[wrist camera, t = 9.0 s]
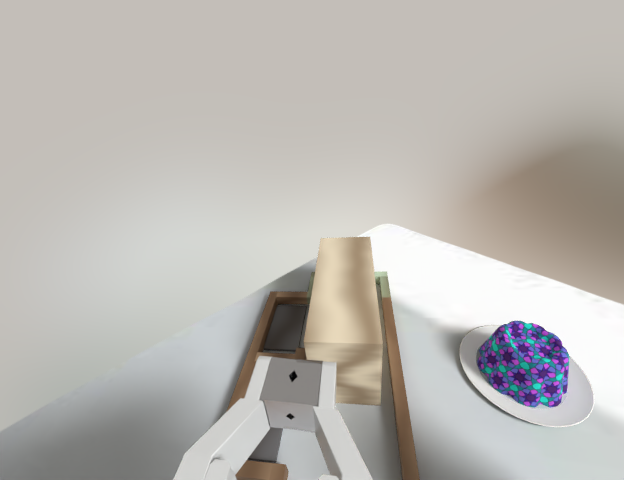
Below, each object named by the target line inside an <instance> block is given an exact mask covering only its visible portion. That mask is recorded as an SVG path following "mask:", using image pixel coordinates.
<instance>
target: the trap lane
mask: <svg viewBox="0 0 624 480" xmlns="http://www.w3.org/2000/svg"><path fill="white" fill-rule="evenodd" d="M374 274H375V283H376V284H380V292H381V300H382V309H383V317H384V326H385V334H386V343H387V351H388V360H389V369H390V377H391V386H392V394H393V403H394V411H395V420H396V429H397V437H398V446H399V454H400V463H401V471H402V480H420V479H419V473H418V466H417V460H416V454H415V447H414V441H413V435H412V428H411V422H410V416H409V409H408V403H407V397H406V390H405V384H404V378H403V371H402V365H401V359H400V352H399V346H398V340H397V334H396V327H395V321H394V315H393V308H392V302H391V296H390V289H389V283H388V277H387V272H374ZM314 277H315V272H312V273H311V278H310V283H309V288H308V292H270V295H269V297H268V300H267V303H266V305H265V308H264V311H263V314H262V316H261V319H260V322H259V324H258V327H257V330H256V333H255V335H254V338H253V341H252V343H251V346H250V349H249V352H248V354H247V357H246V360H245V362H244V365H243V368H242V370H241V373H240V376H239V379H238V381H237V384H236V387H235V389H234V392H233V395H232V398H231V400H230V403H229V406H228V408H227V411H228V410H229V409H230V408H231V407H232V406H233V405H234V404H235V403H236V402H237V401H238V400H239V399H240V398H244V397H245V394H246V391H247V388H248V385H249V382H250V379H251V376H252V373H253V370H254V367H255V364H256V361H257V359H258V357H259V356H269V357H277V358H288V359H303V360H307V357H306V352H305V348H299V343H300V338H301V333H302V328H303V323H304V318H305V313H306V308H307V307H306V306H285V305H278V304H310V301H311V295H312V289H313V283H314ZM263 349H264V350H281V351H295V354H285V353H262V352H263ZM227 411H226V412H227ZM282 430H283V428H274V427H270V430H269V431H268V432H267V434H266V435H265V436H264V438H263V439H262V440H261V442H260V443H259V444H258V446H257V447H256V448H255V450H254V451H253V452H252V454H251V455H250V456H249V458H248V459H251V460H260V461H269V462H276V460H277V455H278V450H279V445H280V440H281V435H282ZM235 476H236V478H237V480H287V477H288V469H287V467H286V465H285V464H276V463H267V462H258V461H249V460H246V462H245V463H244V464H243V466H242V467H241V468H240V470H239V471H238V472H237V474H236V475H235Z"/></svg>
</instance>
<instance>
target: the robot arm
mask: <svg viewBox="0 0 624 480" xmlns="http://www.w3.org/2000/svg"><path fill="white" fill-rule="evenodd" d="M336 365H337V364H336V362H327V361H318V360H303V359H288V358H277V357H269V356H259V357H258V359H257V361H256V364H255V367H254V370H253V373H252V376H251V379H250V382H249V385H248V388H247V391H246V394H245V397H244V398H240V399H239V400H238V401H237V402H236V403H235V404H234V405H233V406H232V407H231V408H230V409H229V410H228V411H227V412H226V413H225V414H224V415H223V416H222V417H221V418H220V419H219V420H218V421H217V422H216V423H215V424H214V425H213V426H212V427H211V428H210V429H209V430H208V431H207V432H206V433H205V434H204V435H203V436H202V437H201V438H200V439H199V440H198V441H197V442H196V443H195V444H194V445H193V446H192V447H191V448H190V449H189V450H188V451H187V452H186V453H185V454H184V456H183V459H182V461H181V463H180V465H179V468H178V470H177V472H176V475H175V477H174V479H173V480H237V478H236V476H235V475H236V474H237V472H238V471H239V470H240V468H241V467H242V466H243V464H244V463H245V462H246V460H247V459H248V458H249V456H250V455H251V454H252V452H253V451H254V450H255V448H256V447H257V446H258V444H259V443H260V442H261V440H262V439H263V438H264V436H265V435H266V434H267V432H268V431H269V430H270V427H274V428H285V429H295V430H301V431H308V432H315V434H316V437H317V440H318V442H319V445H320V448H321V451H322V453H323V456H324V459H325V461H326V464H327V467H328V470H329V472H330V475H325V474H322V475H321V476H320V478H319V479H318V480H373V479H372V477H371V475H370V473H369V471H368V469H367V467H366V465H365V463H364V461H363V459H362V457H361V455H360V453H359V451H358V449H357V447H356V445H355V443H354V441H353V439H352V437H351V434H350V432H349V430H348V428H347V426H346V424H345V422H344V420H343V418H342V416H341V414H340V412H339V410H338V409H336V408H335V406H336Z"/></svg>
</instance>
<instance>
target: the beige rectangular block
mask: <svg viewBox="0 0 624 480" xmlns="http://www.w3.org/2000/svg"><path fill="white" fill-rule="evenodd" d="M304 347H305V352H306V357H307V360H318V361H327V362H336V364H337V365H336V403H346V404H363V405H381V379H382V354H383V341H382V332H381V324H380V316H379V308H378V299H377V291H376V283H375V274H374V266H373V258H372V249H371V241H370V237H348V238H321V241H320V247H319V253H318V258H317V264H316V270H315V277H314V283H313V289H312V295H311V301H310V307H309V313H308V319H307V325H306V331H305V337H304Z"/></svg>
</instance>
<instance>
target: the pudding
mask: <svg viewBox="0 0 624 480" xmlns="http://www.w3.org/2000/svg"><path fill="white" fill-rule="evenodd" d="M482 344H483V345H482ZM481 345H482V346H481ZM480 346H481V347H480ZM479 347H480V349H479ZM478 349H479V352H480V354H481V356H480V357H479V359H478V360H477V362H476V354H477V351H478ZM459 355H460V361H461V364H462V367H463V369H464V371H465V373H466V375H467V377H468V378H469V380H470V381H471V382H472V384H473V385H474V386H475V387H476V388H477V389H478V390H479V391H480V392H481V393H482V394H483V395H484V396H485V397H486V398H487V399H488V400H490V401H491V402H492V403H493V404H495V405H496V406H498V407H499V408H501V409H502V410H504V411H506V412H508V413H509V414H511V415H513V416H515V417H517V418H520V419H522V420H525V421H528V422H530V423H534V424H538V425H542V426H548V427H568V426H573V425H576V424H579V423H581V422H582V421H584V420H585V419H587V418H588V416H589V415H590V414H591V412H592V410H593V406H594V393H593V389H592V386H591V384H590V382H589V380H588V378H587V376H586V375H585V373H584V372H583V370H582V369H581V368H580V366H579V365H578V364H577V363H576V362H575V361H574V360H573V359H572V358H571V357H570V356H569V355H568V352H567V350H566V349H565V348H564V347H563V346H562V342H561V340H560V339H559V338H558V337H557V336H556V335H554V334H553V333H550V332H547V331H546V330H545V329H544V328H543V327H541V326H539V325H536V324H533V323H529V324H527V323H524V322H522V321H512V322H510V323H508V324H504V325H488V326H482V327H478V328H476V329H474V330H472V331H470V332H469V333H468V334H466V335H465V337H464V338H463V339H462V342H461V344H460V350H459ZM477 363H478V366H477ZM478 367H479V368H478ZM479 369H480V371H482V372H483V373H484V374H486V375H487V376H488V380H489V383H490V384H491V385H492V386H491V385H490V384H489V383H488V382H487V381H486V380H485V379H484V377H483V376H482V374H481V373H480V371H479ZM567 388H568V389H567ZM496 390H497V391H496ZM499 392H500V393H501V394H506V395H511V396H512V397H513V398H514V399H515V400H516V401H517V402H518V403H520V404H518V403H516V402H514V401H512V400H510V399H508V398H506V397H505V396H503V395H501V394H500V393H499ZM566 392H567V396H566V399H565V400H564V401H563V402H562V403H561V398H562V394H565V393H566ZM560 403H561V404H560ZM521 404H522V405H521ZM539 404H543V405H545V406H548V407H553V408H547V409H538V408H532V407H536V406H537V405H539ZM559 404H560V405H559ZM524 405H525V406H524ZM527 406H528V407H527ZM555 406H556V407H555Z"/></svg>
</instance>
